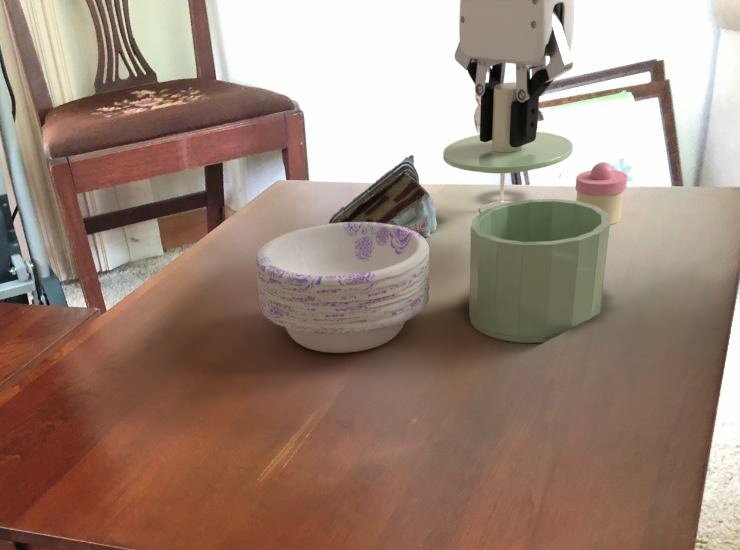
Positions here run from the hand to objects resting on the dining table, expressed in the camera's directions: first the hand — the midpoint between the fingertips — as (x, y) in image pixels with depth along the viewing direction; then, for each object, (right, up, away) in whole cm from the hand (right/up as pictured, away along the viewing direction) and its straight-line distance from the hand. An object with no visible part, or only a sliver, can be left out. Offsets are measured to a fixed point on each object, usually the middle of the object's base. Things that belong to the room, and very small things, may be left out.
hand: (507, 139), depth 93 cm
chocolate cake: (-10, -5, +13) cm, 17 cm away
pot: (+1, -19, -6) cm, 20 cm away
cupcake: (+12, -3, +11) cm, 17 cm away
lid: (0, -1, +1) cm, 1 cm away
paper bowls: (-16, -20, -5) cm, 26 cm away
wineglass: (+3, 0, +17) cm, 17 cm away
